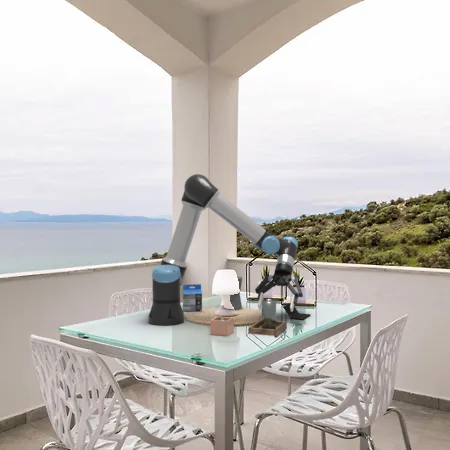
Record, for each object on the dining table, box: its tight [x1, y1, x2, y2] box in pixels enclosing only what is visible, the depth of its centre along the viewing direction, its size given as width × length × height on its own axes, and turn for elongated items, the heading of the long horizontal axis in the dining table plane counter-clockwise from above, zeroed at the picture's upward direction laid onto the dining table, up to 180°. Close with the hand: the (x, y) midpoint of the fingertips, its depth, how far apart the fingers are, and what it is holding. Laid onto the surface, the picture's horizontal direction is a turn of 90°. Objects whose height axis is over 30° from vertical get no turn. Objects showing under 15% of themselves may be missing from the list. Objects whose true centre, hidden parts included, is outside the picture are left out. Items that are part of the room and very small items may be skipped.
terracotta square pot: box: [209, 315, 235, 337], centre depth 197 cm, size 7×7×6 cm
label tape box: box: [182, 283, 203, 313], centre depth 242 cm, size 9×4×12 cm, turn 97°
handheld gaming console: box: [283, 302, 311, 321], centre depth 229 cm, size 12×7×10 cm
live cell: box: [261, 298, 277, 330], centre depth 203 cm, size 6×6×12 cm
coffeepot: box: [230, 275, 243, 311], centre depth 249 cm, size 15×9×18 cm, turn 27°
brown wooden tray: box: [247, 319, 288, 338], centre depth 202 cm, size 11×16×3 cm
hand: (275, 308), depth 213 cm, fingers open, 13 cm apart
